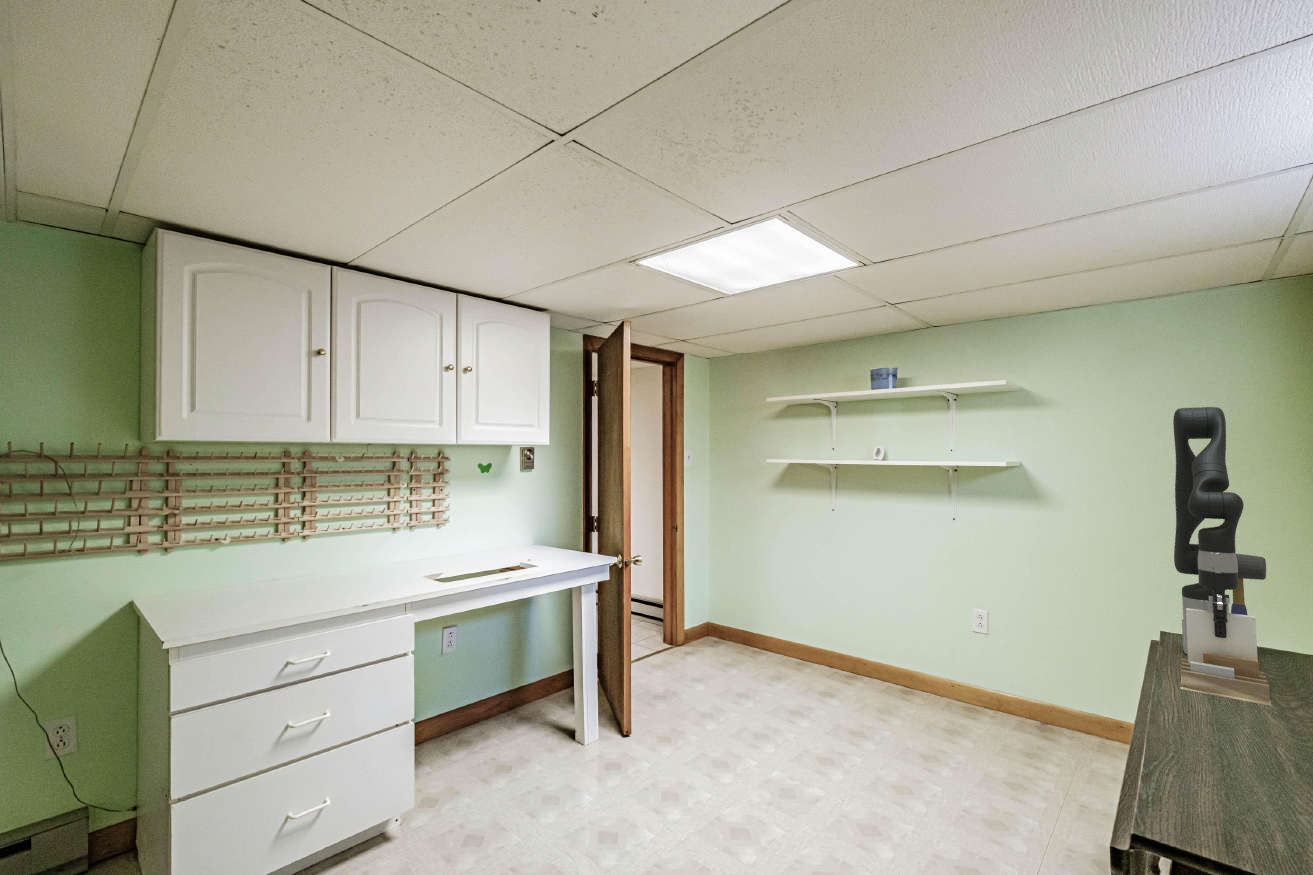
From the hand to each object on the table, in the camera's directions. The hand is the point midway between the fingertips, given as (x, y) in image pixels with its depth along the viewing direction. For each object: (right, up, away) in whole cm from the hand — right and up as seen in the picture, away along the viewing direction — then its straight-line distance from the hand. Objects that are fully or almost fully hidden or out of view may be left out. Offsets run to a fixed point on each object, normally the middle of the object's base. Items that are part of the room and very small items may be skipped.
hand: (1220, 635), depth 153 cm
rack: (-3, -13, -3) cm, 14 cm away
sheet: (0, -12, 0) cm, 12 cm away
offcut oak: (-1, -12, -4) cm, 13 cm away
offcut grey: (-7, -12, -5) cm, 14 cm away
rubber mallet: (+33, -15, +28) cm, 45 cm away
